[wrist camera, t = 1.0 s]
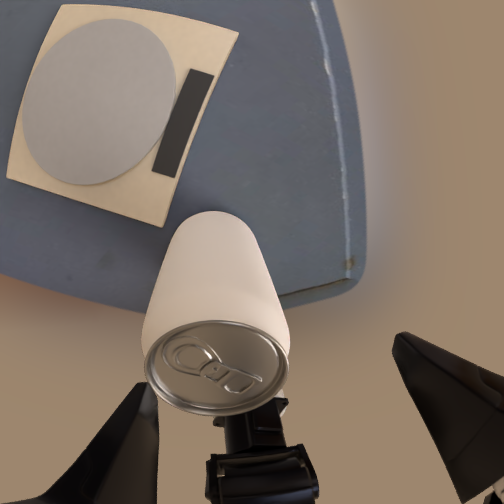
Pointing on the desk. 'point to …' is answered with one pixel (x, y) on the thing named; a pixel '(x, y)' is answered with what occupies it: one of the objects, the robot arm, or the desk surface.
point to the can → (215, 321)
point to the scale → (116, 106)
